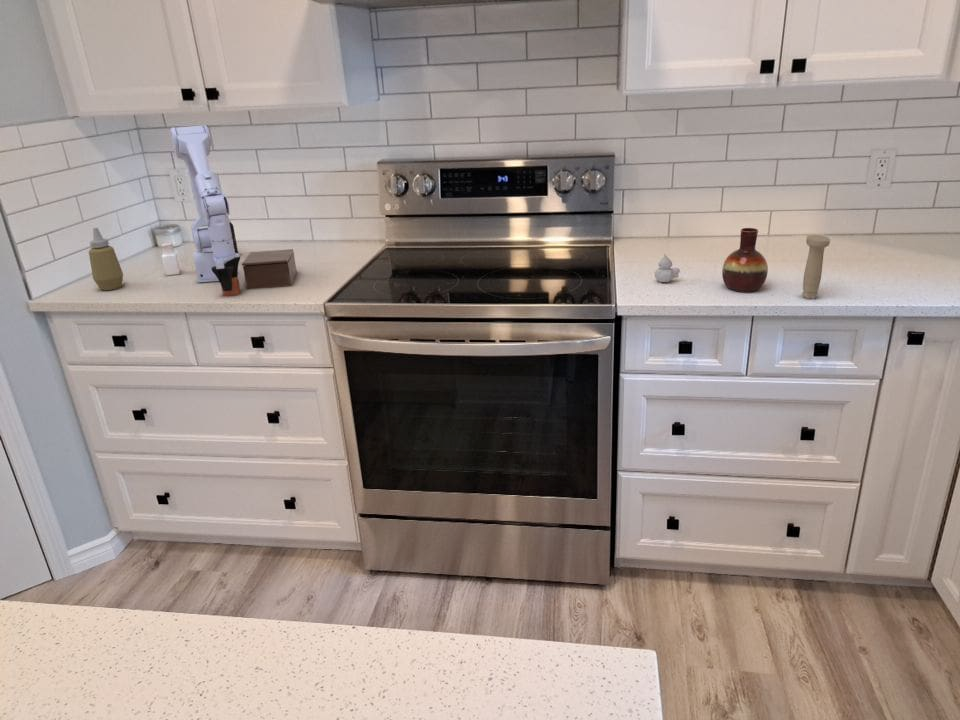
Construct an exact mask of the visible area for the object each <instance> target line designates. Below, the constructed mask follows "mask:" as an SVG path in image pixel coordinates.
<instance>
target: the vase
mask: <svg viewBox="0 0 960 720" xmlns="http://www.w3.org/2000/svg"><path fill="white" fill-rule="evenodd" d="M758 233H759V229H757V228H754V227H744V228H741V229H740V241H739V248H738V249H736V250H734V251H732V252H731V253H730V254H728V255H727V257H726V258H725V259H724V262H723V264H722V271H721V275H722V280H723V284H724V285H725V287H726V288H727V289H729V290H730V291H734V292H739V293H752V292H756V291H758V290H759V289H761V288H762V287H763V286H764V284H765V282H766V279H767V277H768V272H769V268H768V262H767V260H766V258H765V256H764V255H763V254H762V253H761V252H760V251H758V250H757V249H756V244H757V240H758Z"/></svg>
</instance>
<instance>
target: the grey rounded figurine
mask: <svg viewBox="0 0 960 720" xmlns="http://www.w3.org/2000/svg"><path fill="white" fill-rule="evenodd" d="M657 265H658V268H657V269H656V270H655V271H654V274H653V275H654V278H655V279H656V280H657V281H658V282H659V283H669V282H670V281H672V280H673V279H677V278H679V273H680V270H681V269H680V268H678V267H673V262H672V260H671V258H669V257H668V256H667V254H664V256H663V257H662V258H661V259H660V261H659V262H658V263H657Z"/></svg>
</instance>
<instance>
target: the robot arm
mask: <svg viewBox="0 0 960 720" xmlns="http://www.w3.org/2000/svg"><path fill="white" fill-rule="evenodd" d="M169 131H170V133H169V134H170V139H171V142H172V147H173V151H174V154H175V156H176V158H177V159H179V160H181V161H183V163H184V164H185V166H186V169H187V172H188V176H189V181H190V185H191V189H192V193H193V198H194V202H195V206H196V211H197V216H198V217H197V218H196V220H194V221H193V222H192V223H191V227H190V228H191V235H192V240H193V244H194V247H195V249H196V250H194V253H193V261H194V267H195V271H196V275H197V283H208V282H209V283H210V282H211V283H212V282H219V284H220V286H222V287H221V289H222V288H223V290H224V291H232V278H234V277H238V275H239V274H238V273H239V272H238V271H239V263H240V260H241V254H240V252H238V253H235V250H234V244H233V239H232V234H231V229H230V223H229V220H230V218H229V215H230V205H229V201H228V198H227V196H226V193H224V190H222V189H221V185H220V182H219V180H218V176H217V175H216V173H214V172H213V171H211V169H210V163H209V161H208V160H209V159H208V156H210V154H211V153H210V152H211V147H212V138H211V137H212V136H211V133H210V130H209V127H208V126H206V124H202V125H192V126H190V125H189V126H179V127H175V126H173V127H171V128H170V130H169ZM238 278H239V277H238Z"/></svg>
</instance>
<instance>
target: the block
mask: <svg viewBox="0 0 960 720" xmlns="http://www.w3.org/2000/svg"><path fill="white" fill-rule="evenodd" d="M220 286H221V285H220ZM221 291H222V296H223V297H227V296H238V295H239V294H240V292H241V285H240V281H239V277H234V278H232V291H224V290H223V288H222V286H221Z"/></svg>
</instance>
